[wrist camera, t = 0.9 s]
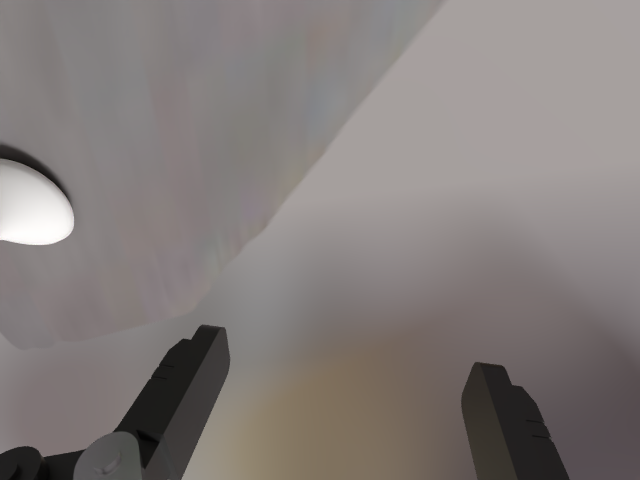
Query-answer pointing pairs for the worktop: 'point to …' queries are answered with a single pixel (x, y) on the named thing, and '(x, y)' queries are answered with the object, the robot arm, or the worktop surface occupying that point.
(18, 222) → the flower in vase
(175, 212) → the worktop surface
